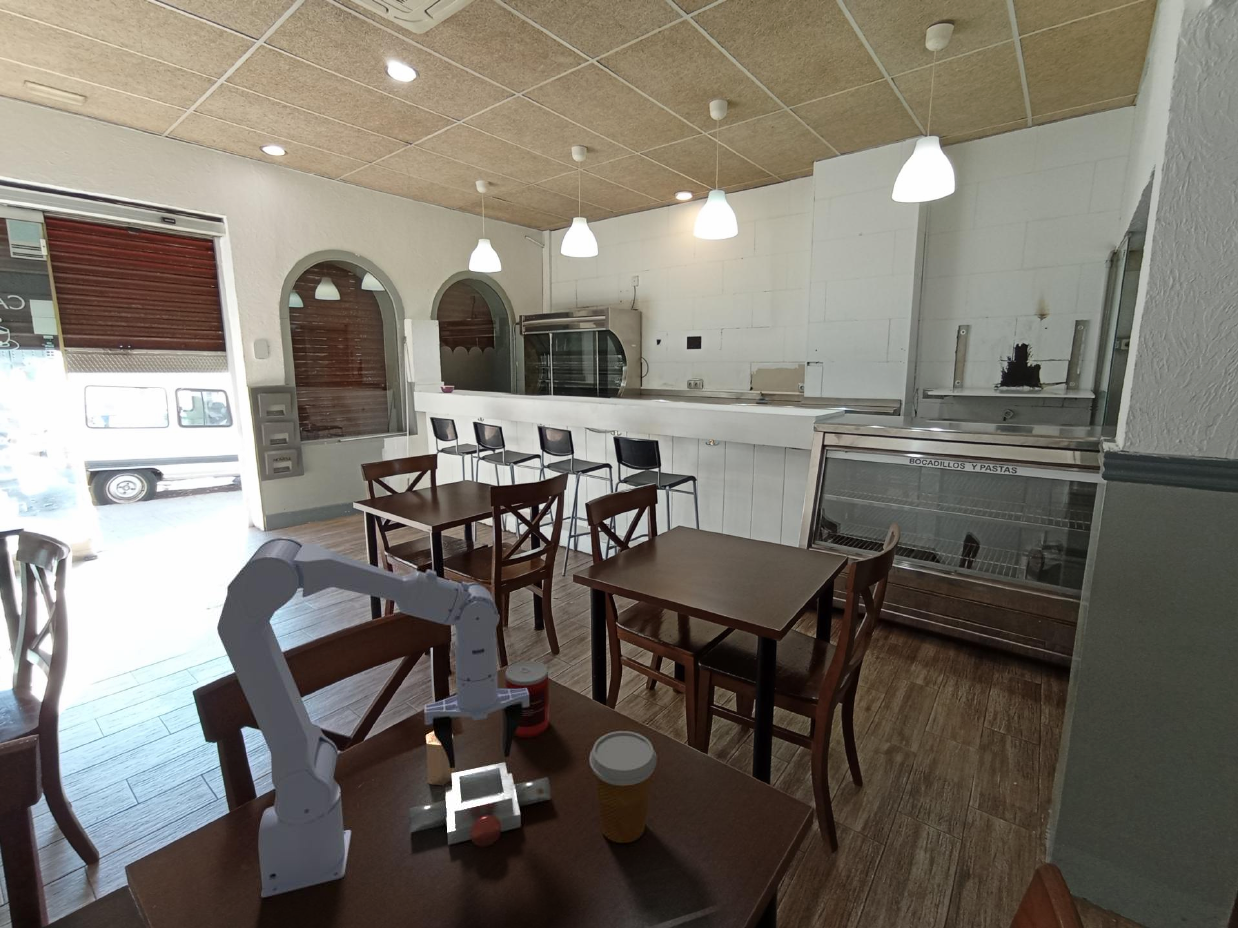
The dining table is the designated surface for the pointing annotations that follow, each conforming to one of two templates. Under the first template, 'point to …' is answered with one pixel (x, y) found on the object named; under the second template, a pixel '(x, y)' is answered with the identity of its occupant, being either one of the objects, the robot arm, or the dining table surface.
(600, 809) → the disposable coffee cup
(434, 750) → the wooden hexagonal prism
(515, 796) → the valve body
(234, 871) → the dining table surface
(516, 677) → the canned food
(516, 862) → the dining table surface
